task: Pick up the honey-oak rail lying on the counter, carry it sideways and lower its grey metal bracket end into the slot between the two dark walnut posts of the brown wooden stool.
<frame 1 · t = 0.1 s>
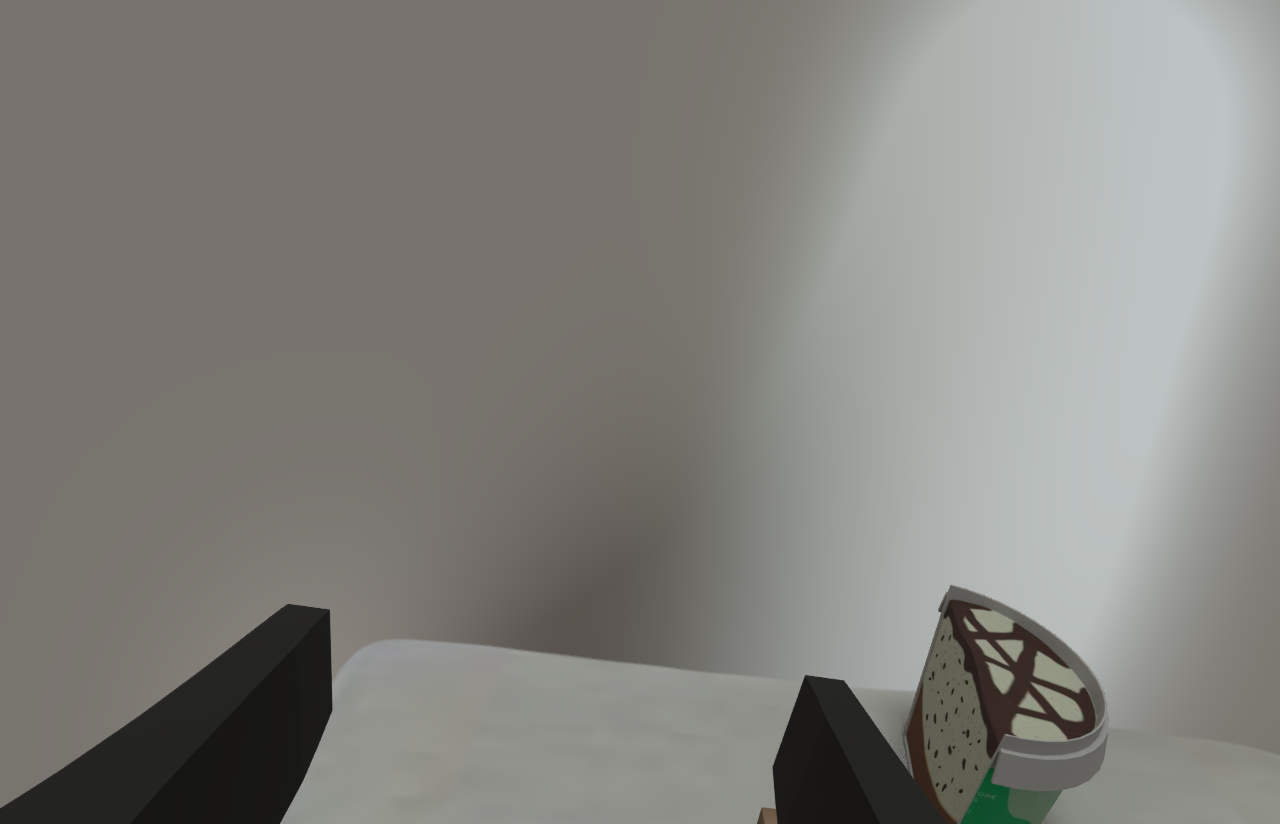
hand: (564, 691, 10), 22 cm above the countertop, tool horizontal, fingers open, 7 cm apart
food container: (973, 821, 36), on the countertop
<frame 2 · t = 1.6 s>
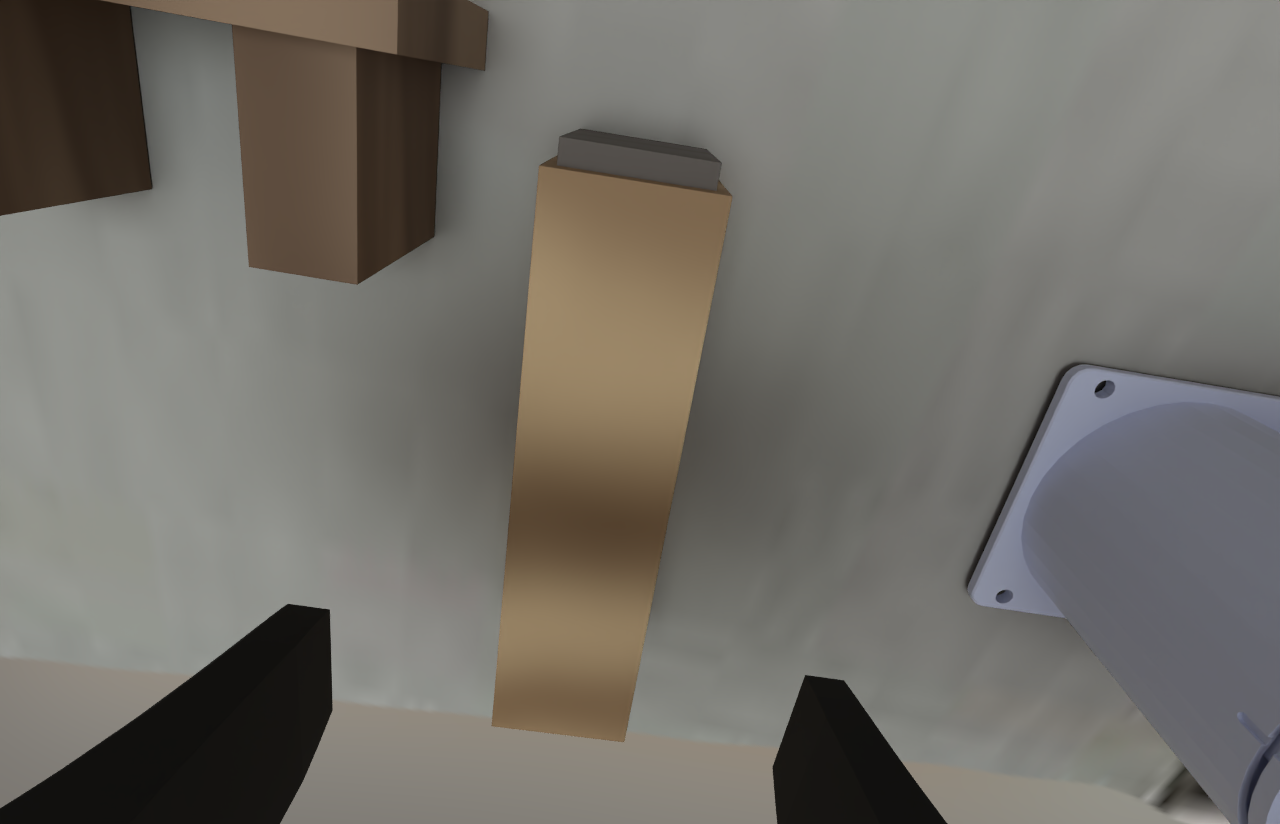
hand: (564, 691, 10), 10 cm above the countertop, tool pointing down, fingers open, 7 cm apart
brown wooden stool: (249, 138, 17), on the countertop
rail: (604, 415, 20), on the countertop
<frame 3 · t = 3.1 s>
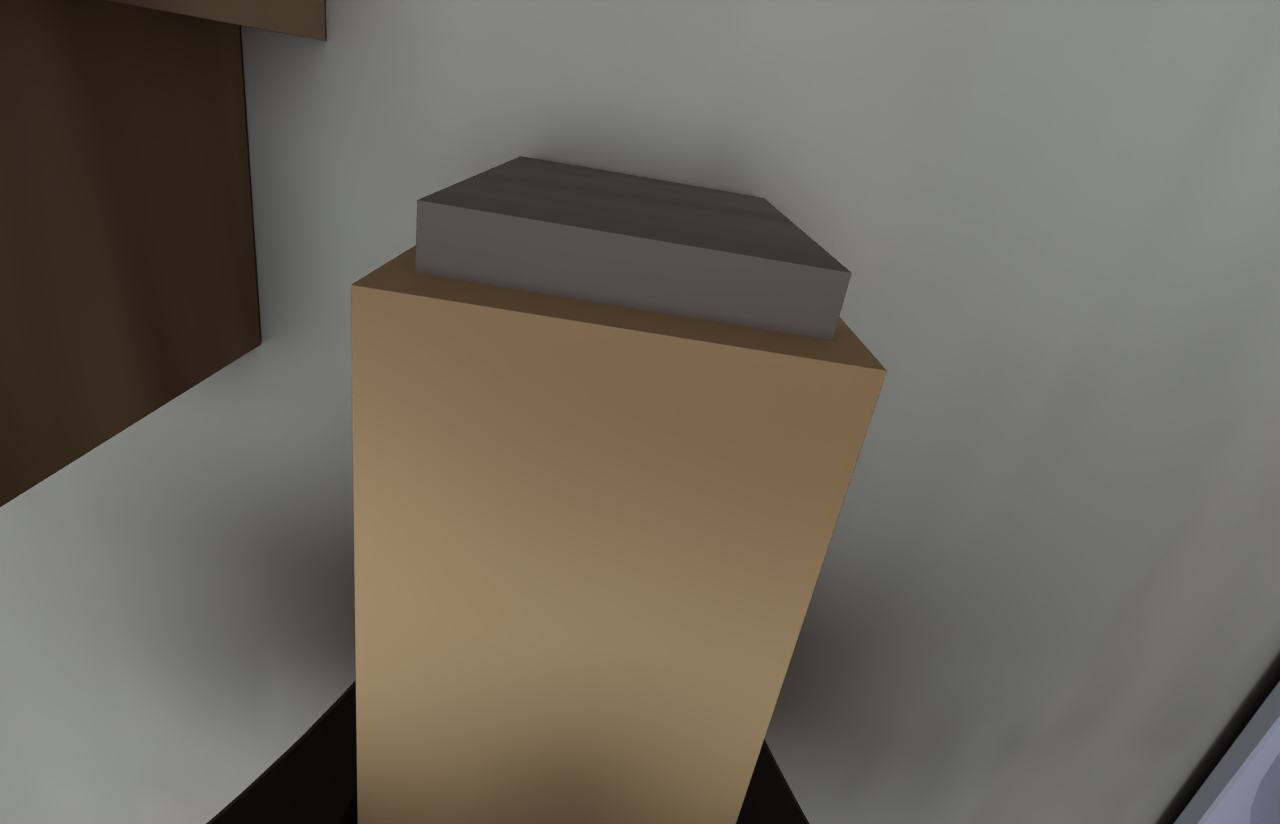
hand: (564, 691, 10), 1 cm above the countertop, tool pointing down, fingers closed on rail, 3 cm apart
rail: (573, 625, 12), on the countertop, touching gripper
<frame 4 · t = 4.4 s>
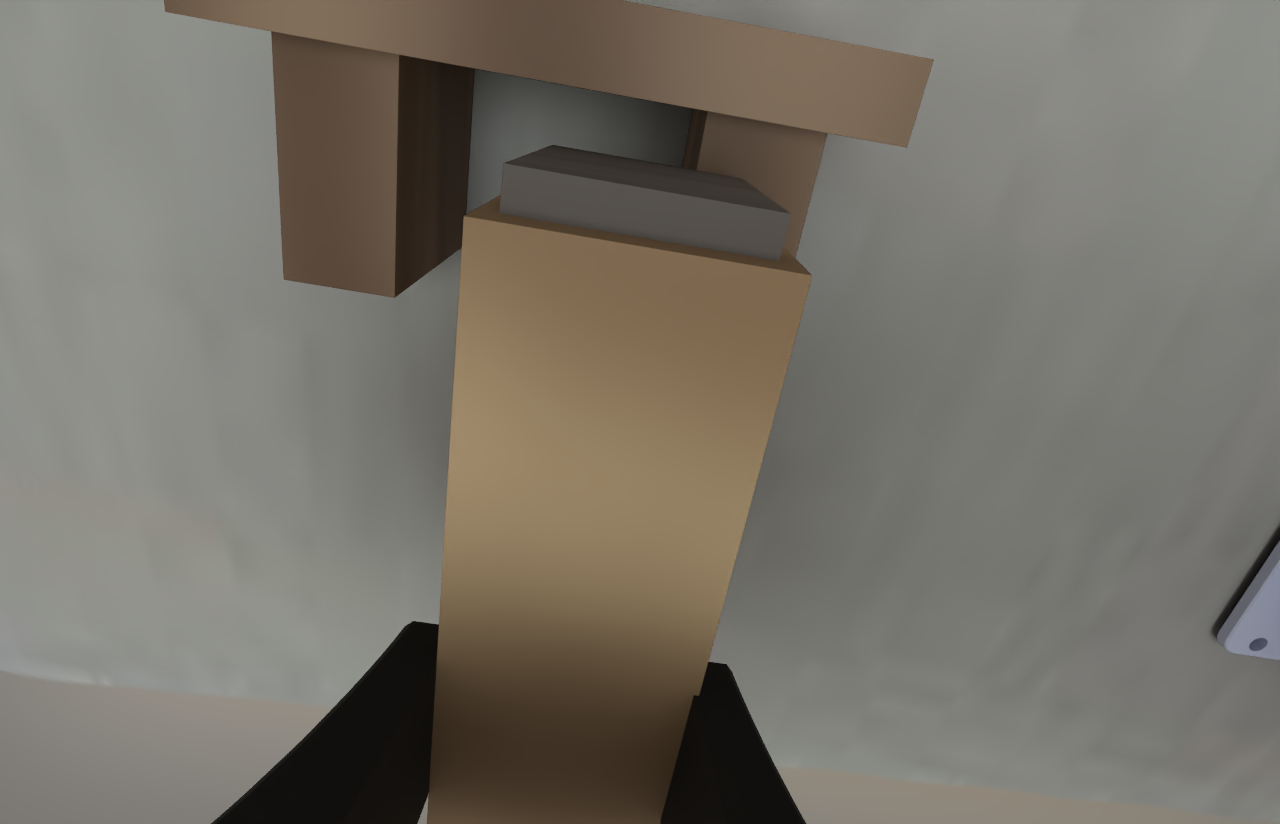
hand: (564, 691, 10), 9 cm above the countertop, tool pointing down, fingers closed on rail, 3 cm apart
brown wooden stool: (571, 197, 17), on the countertop
rail: (586, 540, 14), point 5 cm above the countertop, touching gripper
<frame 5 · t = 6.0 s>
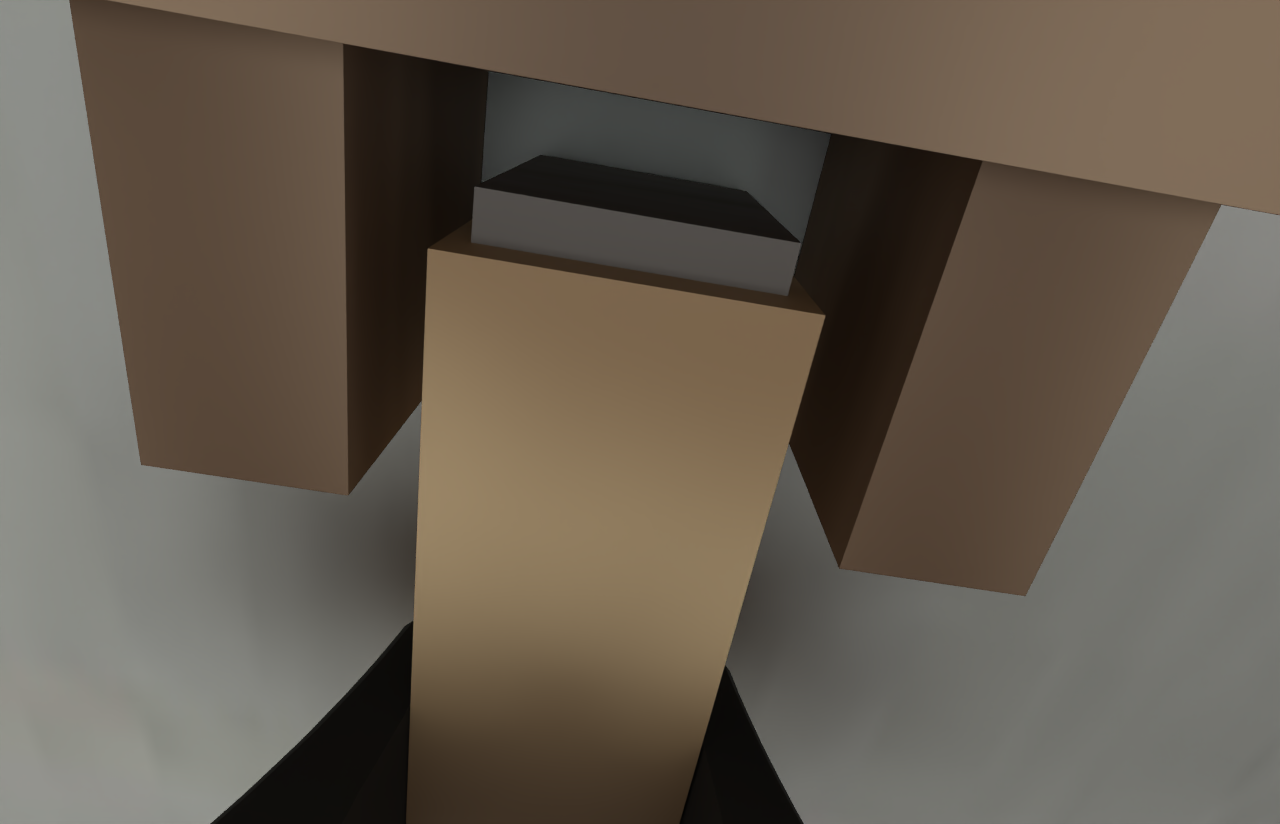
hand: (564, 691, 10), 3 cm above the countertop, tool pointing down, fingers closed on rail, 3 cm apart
brown wooden stool: (635, 267, 11), on the countertop
rail: (580, 570, 13), on the countertop, touching gripper
when the fingers open (3 cm above the countertop, at t = 6.1 s): rail stays where it is, on the countertop.
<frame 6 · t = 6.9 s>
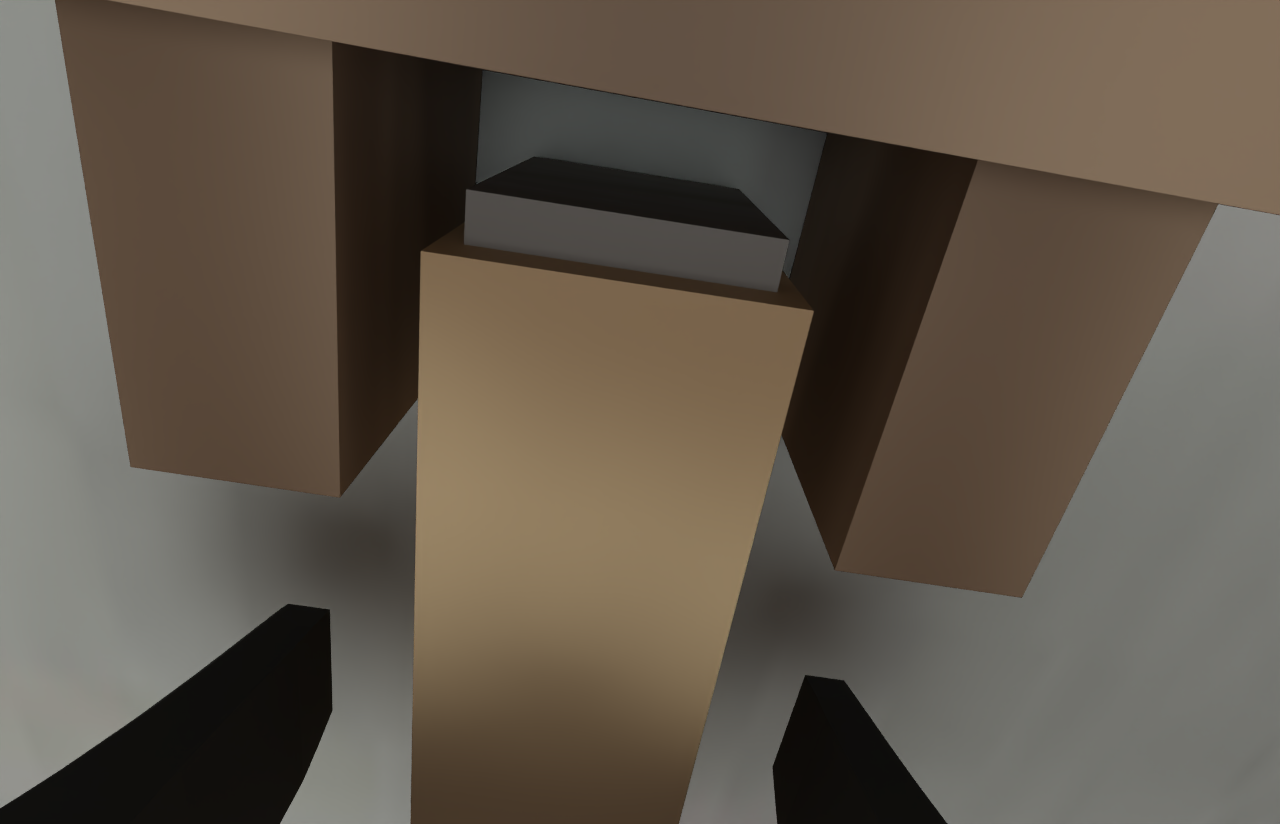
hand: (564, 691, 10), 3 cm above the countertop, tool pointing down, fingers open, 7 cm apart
brown wooden stool: (630, 267, 11), on the countertop
rail: (581, 568, 13), on the countertop
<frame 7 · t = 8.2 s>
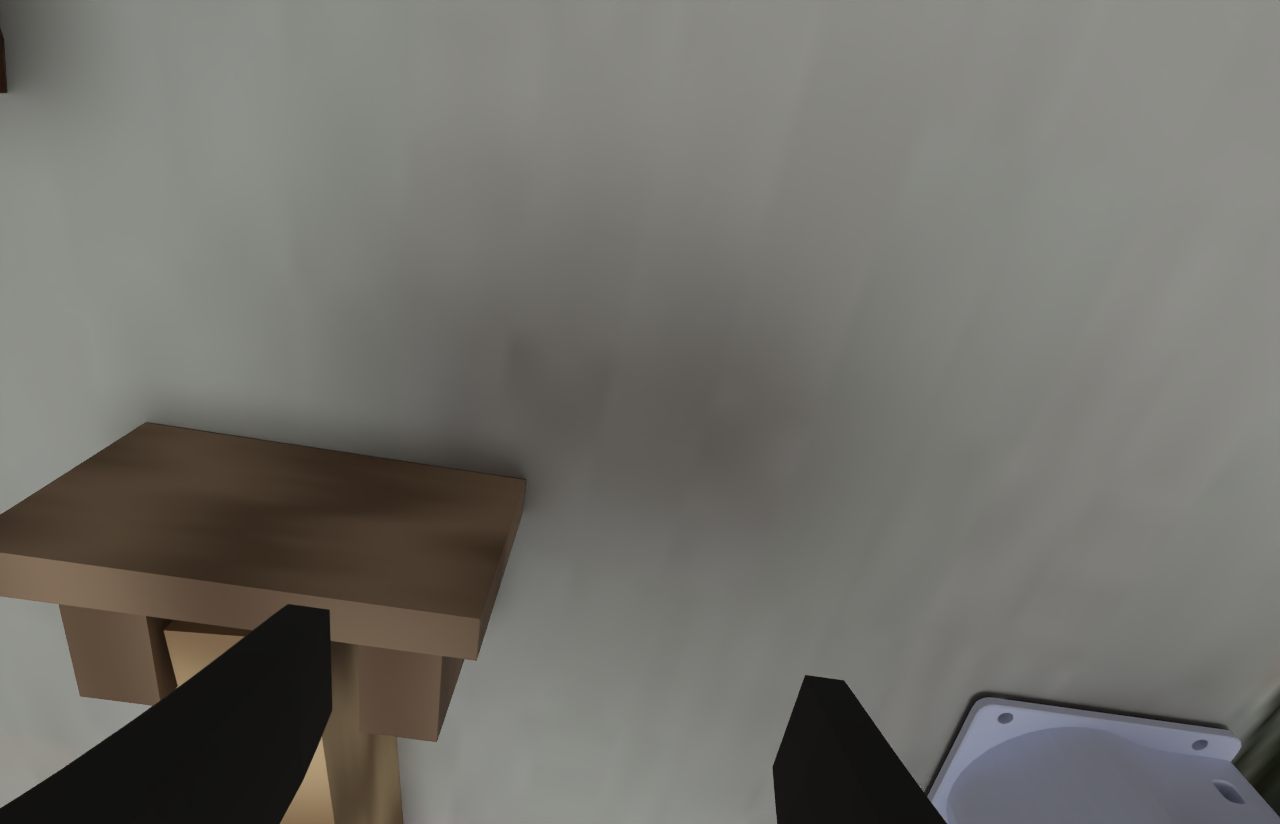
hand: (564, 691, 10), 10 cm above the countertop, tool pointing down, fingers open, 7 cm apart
brown wooden stool: (340, 552, 21), on the countertop
rail: (344, 688, 24), on the countertop
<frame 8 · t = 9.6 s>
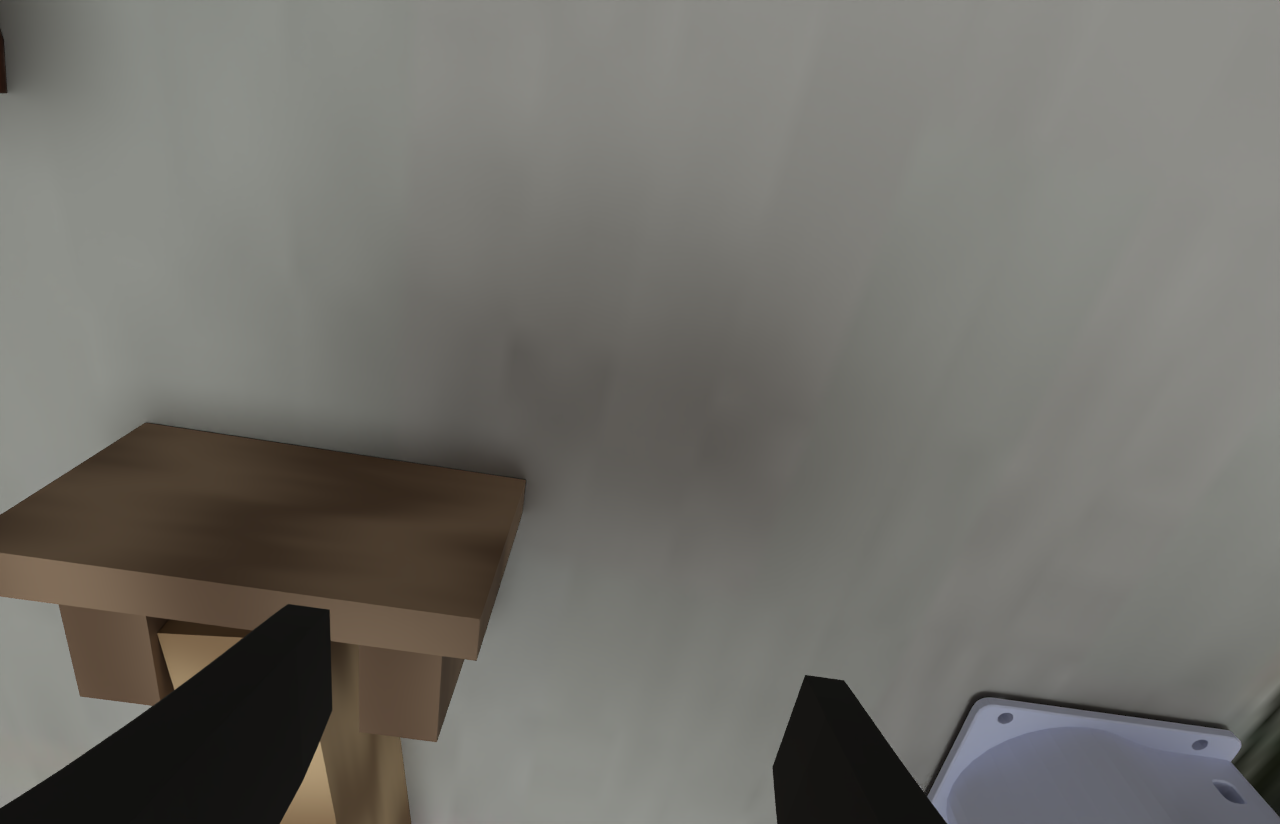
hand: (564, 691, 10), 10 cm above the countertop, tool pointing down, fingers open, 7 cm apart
brown wooden stool: (340, 552, 21), on the countertop
rail: (347, 689, 24), on the countertop
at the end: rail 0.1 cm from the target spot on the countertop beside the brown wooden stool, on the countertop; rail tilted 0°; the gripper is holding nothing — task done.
